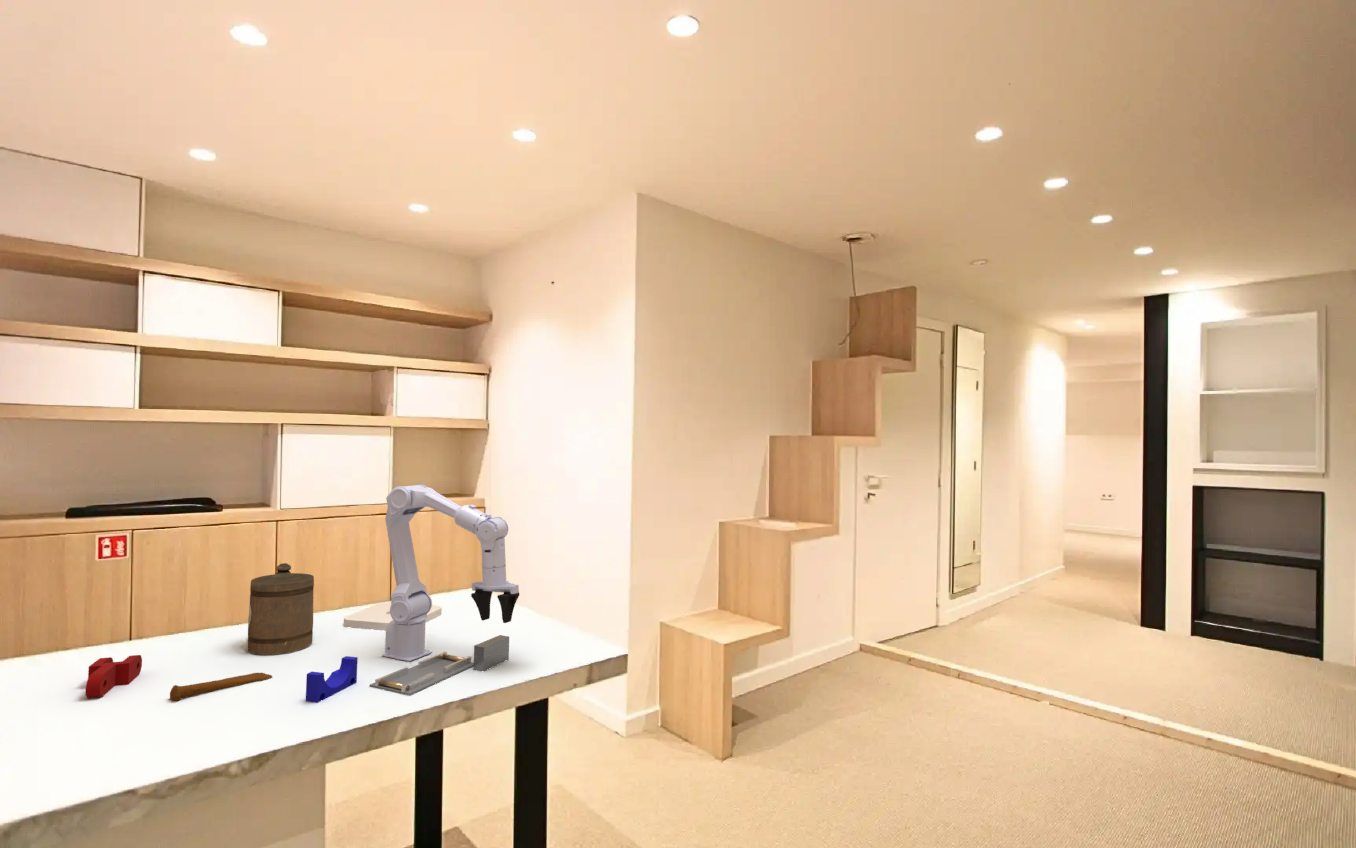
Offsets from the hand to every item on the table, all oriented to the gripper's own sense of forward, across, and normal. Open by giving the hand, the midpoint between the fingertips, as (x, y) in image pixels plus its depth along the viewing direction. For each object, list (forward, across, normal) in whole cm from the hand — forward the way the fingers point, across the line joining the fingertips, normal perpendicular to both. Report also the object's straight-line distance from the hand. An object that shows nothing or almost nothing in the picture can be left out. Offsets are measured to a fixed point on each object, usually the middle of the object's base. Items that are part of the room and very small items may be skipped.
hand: (496, 620), depth 165 cm
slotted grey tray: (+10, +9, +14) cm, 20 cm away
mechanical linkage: (+6, +59, +58) cm, 83 cm away
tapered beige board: (+8, +56, -11) cm, 58 cm away
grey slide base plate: (+10, +9, +14) cm, 20 cm away
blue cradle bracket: (+9, +18, +33) cm, 39 cm away
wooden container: (+6, +57, +22) cm, 62 cm away
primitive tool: (+8, +40, +44) cm, 60 cm away
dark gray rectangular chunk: (+11, +2, 0) cm, 11 cm away
